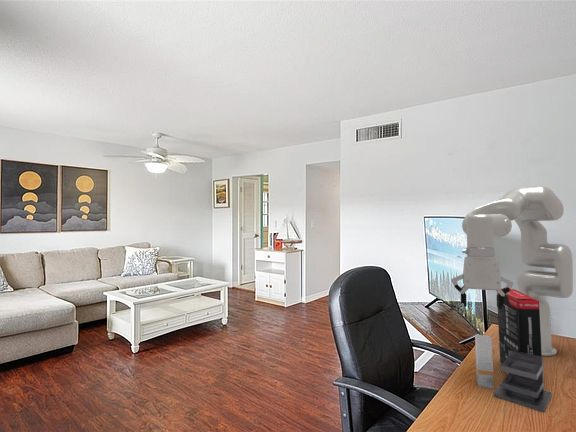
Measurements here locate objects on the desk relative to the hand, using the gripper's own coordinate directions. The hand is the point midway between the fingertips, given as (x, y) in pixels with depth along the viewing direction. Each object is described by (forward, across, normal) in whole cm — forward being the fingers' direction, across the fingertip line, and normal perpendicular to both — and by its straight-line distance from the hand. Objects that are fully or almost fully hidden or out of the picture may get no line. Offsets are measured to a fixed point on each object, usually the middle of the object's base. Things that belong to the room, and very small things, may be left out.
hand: (481, 306), depth 106 cm
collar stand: (+24, +10, -4) cm, 27 cm away
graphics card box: (+25, +13, +13) cm, 31 cm away
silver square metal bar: (+25, 0, +1) cm, 25 cm away
